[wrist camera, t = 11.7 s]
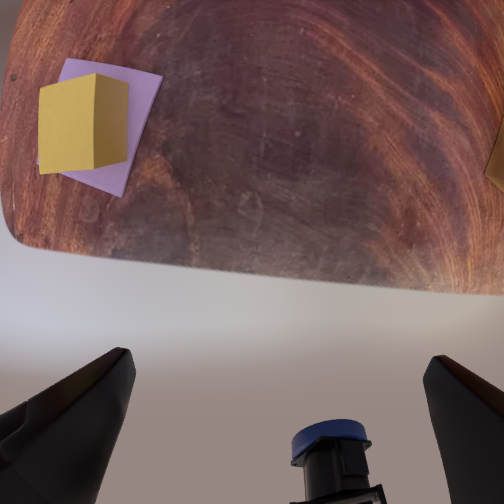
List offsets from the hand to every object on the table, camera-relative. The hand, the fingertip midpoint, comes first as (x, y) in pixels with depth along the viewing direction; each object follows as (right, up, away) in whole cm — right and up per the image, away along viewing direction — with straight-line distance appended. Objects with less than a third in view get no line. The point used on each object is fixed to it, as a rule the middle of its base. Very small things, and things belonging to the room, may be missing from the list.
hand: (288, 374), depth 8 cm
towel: (-11, +12, +8) cm, 18 cm away
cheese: (-10, +11, +8) cm, 17 cm away
